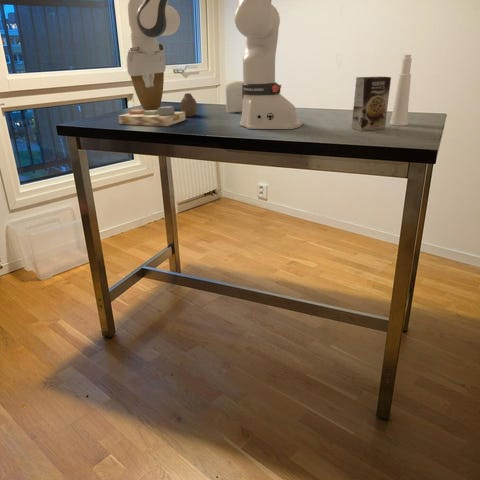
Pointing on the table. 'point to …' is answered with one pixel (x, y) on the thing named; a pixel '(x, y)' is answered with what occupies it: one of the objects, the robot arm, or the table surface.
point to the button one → (137, 111)
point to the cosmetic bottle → (402, 94)
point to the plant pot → (149, 91)
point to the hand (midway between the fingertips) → (149, 87)
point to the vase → (188, 105)
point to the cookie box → (370, 103)
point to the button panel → (151, 119)
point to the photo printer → (234, 97)
